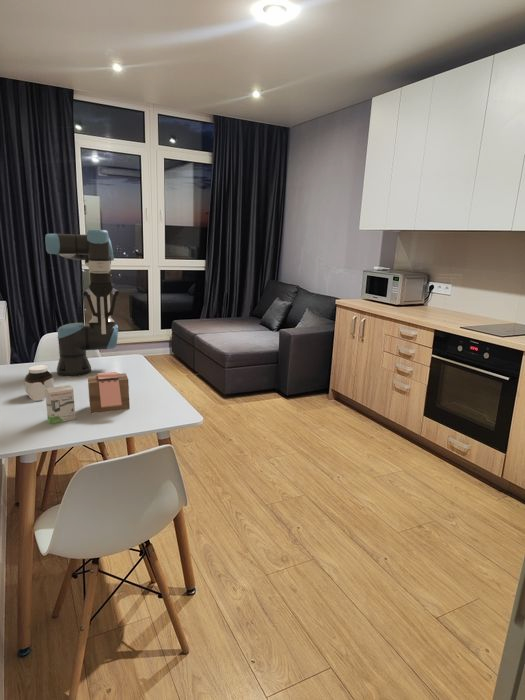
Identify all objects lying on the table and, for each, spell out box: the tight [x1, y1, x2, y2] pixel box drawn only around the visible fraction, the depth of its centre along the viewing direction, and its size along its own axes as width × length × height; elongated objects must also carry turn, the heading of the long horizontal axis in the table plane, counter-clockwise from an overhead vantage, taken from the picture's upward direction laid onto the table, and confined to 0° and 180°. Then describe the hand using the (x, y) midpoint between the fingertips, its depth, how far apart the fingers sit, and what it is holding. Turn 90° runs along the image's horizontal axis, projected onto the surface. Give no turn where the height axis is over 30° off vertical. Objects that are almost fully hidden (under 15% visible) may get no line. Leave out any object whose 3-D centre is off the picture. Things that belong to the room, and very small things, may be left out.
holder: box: [87, 371, 131, 414], centre depth 167 cm, size 8×14×13 cm, turn 113°
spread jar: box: [24, 364, 55, 402], centre depth 176 cm, size 12×11×12 cm
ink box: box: [45, 384, 77, 425], centre depth 155 cm, size 9×5×12 cm, turn 125°
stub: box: [99, 380, 122, 408], centre depth 160 cm, size 10×7×1 cm
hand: (103, 333), depth 170 cm, fingers closed
